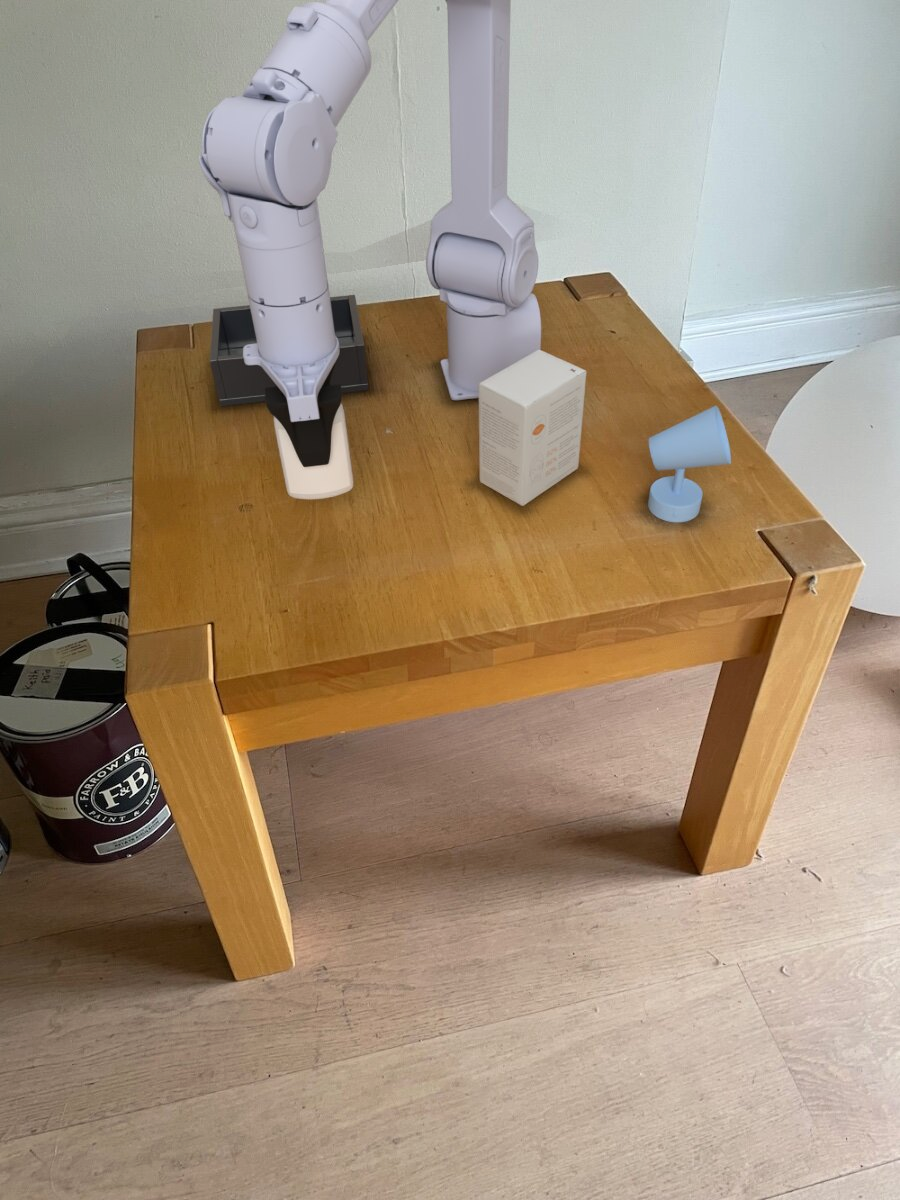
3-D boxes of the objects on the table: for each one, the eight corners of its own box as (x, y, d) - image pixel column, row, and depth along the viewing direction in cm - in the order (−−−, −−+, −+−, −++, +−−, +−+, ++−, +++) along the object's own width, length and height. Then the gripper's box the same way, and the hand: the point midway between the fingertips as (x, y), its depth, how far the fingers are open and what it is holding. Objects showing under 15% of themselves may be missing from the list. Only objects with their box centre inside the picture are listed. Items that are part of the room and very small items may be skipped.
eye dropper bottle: (340, 509, 73) (320, 379, 64) (279, 496, 74) (252, 368, 66) (361, 478, 76) (345, 350, 67) (302, 467, 77) (279, 340, 69)
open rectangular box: (359, 338, 102) (354, 294, 99) (369, 390, 94) (364, 344, 90) (223, 352, 101) (213, 308, 97) (220, 406, 93) (209, 360, 89)
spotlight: (718, 493, 80) (640, 486, 81) (740, 396, 73) (655, 389, 74) (719, 528, 76) (638, 520, 77) (743, 429, 69) (653, 422, 70)
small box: (534, 446, 86) (539, 346, 79) (579, 469, 83) (589, 368, 76) (477, 482, 82) (476, 381, 75) (522, 508, 79) (525, 406, 72)
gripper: (232, 251, 67) (264, 406, 77) (228, 344, 57) (266, 509, 67) (325, 243, 68) (345, 397, 78) (338, 332, 58) (359, 498, 67)
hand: (314, 449), depth 72 cm, fingers closed on eye dropper bottle, 3 cm apart
